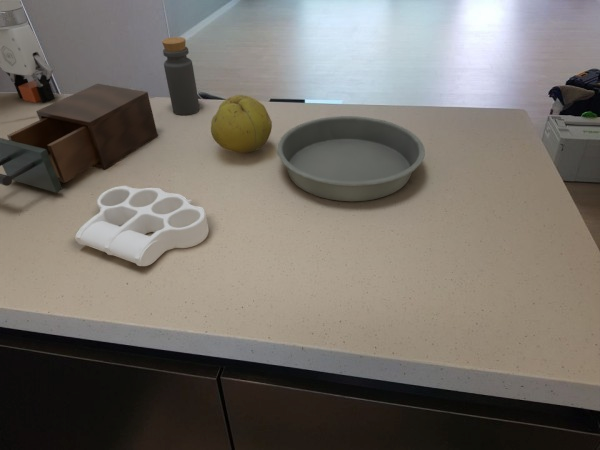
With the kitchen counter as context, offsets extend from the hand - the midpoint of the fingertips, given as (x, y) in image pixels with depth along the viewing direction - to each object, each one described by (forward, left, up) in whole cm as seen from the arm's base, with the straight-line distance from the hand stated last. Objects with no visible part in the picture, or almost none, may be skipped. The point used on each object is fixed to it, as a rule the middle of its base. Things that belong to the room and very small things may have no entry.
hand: (37, 98), depth 107 cm
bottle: (+30, -22, -1) cm, 37 cm away
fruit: (+35, -46, -1) cm, 58 cm away
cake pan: (+49, -61, -1) cm, 78 cm away
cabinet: (+12, -32, -1) cm, 34 cm away
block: (0, 0, -1) cm, 1 cm away
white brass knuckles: (+14, -63, -1) cm, 65 cm away
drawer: (+2, -40, 0) cm, 41 cm away
